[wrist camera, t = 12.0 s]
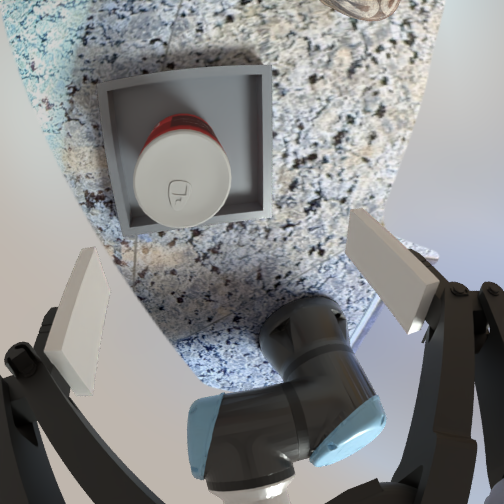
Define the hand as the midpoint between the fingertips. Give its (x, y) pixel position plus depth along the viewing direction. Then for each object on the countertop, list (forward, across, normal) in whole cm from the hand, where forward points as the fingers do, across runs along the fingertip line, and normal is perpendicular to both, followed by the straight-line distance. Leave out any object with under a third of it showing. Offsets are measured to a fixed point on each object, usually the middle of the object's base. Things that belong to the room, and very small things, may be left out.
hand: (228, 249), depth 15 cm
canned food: (+21, +2, -1) cm, 21 cm away
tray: (+21, +1, -1) cm, 21 cm away
